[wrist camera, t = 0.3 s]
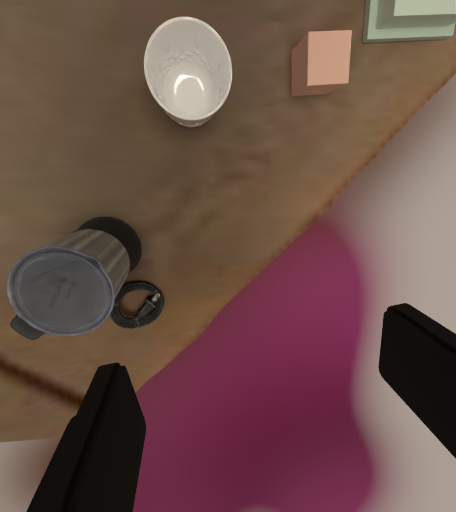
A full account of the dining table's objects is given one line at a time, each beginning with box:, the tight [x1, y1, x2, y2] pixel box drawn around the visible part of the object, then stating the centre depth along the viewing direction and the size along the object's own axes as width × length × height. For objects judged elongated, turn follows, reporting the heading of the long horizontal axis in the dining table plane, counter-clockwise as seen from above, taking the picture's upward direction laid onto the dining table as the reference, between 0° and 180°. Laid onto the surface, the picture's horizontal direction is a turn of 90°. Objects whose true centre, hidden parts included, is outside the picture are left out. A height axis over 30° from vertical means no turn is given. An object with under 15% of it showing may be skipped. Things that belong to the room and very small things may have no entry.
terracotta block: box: [292, 30, 352, 96], centre depth 31 cm, size 5×5×5 cm
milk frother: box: [7, 217, 164, 340], centre depth 32 cm, size 14×16×15 cm
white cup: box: [144, 17, 232, 128], centre depth 28 cm, size 8×8×10 cm
